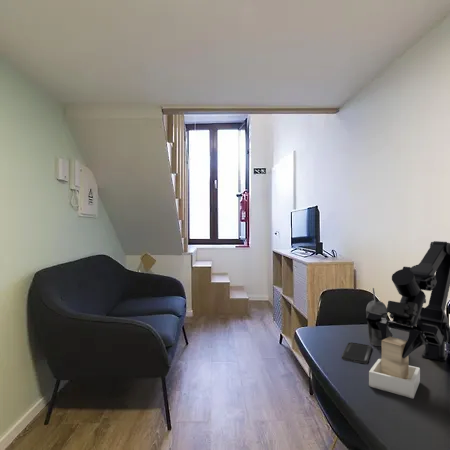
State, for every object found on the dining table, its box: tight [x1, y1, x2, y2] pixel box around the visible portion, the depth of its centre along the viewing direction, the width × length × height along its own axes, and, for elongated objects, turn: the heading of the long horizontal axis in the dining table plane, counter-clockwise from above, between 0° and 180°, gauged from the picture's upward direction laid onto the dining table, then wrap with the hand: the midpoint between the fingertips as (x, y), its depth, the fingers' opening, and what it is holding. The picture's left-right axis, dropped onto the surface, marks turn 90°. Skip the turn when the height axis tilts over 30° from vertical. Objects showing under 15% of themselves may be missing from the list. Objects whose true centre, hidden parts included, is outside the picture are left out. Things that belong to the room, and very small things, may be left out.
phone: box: [341, 342, 373, 364], centre depth 115 cm, size 8×1×15 cm
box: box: [368, 358, 421, 400], centre depth 93 cm, size 11×11×4 cm
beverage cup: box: [365, 287, 389, 347], centre depth 123 cm, size 7×7×20 cm
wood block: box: [380, 336, 410, 379], centre depth 93 cm, size 5×5×10 cm
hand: (392, 354), depth 92 cm, fingers closed on wood block, 5 cm apart
